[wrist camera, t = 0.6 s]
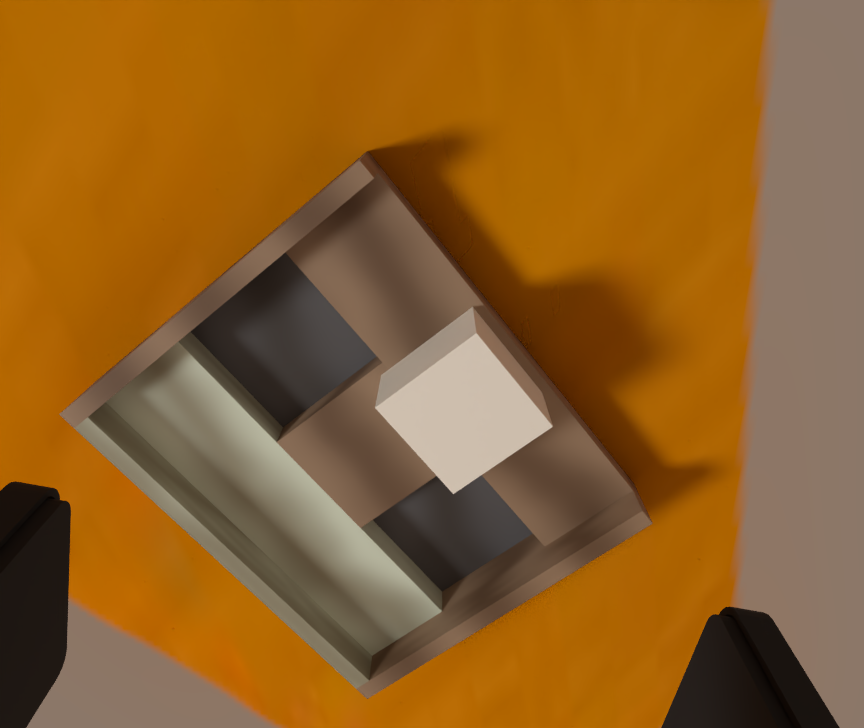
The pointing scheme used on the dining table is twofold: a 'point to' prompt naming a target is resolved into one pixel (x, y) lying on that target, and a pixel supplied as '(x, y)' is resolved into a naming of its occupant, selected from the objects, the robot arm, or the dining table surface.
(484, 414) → the cream block
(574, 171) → the dining table surface
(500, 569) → the box
